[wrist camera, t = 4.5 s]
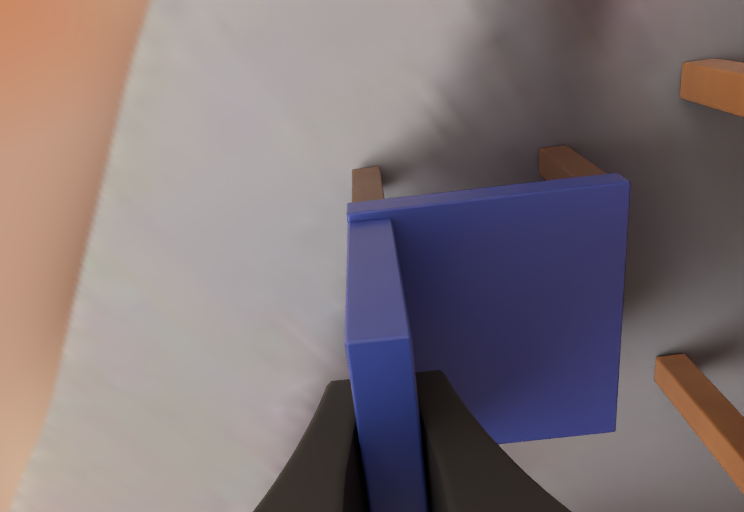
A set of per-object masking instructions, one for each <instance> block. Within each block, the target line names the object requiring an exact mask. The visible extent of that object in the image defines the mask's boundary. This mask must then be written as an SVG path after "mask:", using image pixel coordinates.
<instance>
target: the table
mask: <svg viewBox="0 0 744 512" xmlns="http://www.w3.org/2000/svg"><path fill="white" fill-rule="evenodd" d="M680 98H682V99H685V100H688V101H692V102H695V103H698V104H701V105H705V106H708V107H711V108H715V109H718V110H721V111H724V112H728V113H731V114H734V115H738V116H741V117H744V63H741V62H735V61H729V60H723V59H717V58H715V59H707V60H698V61H689V62H685V63H683V65H682V76H681V87H680ZM654 380H655V382H656V383H657V384H658V386H659V387H660V388H661V390H662V391H663V392H664V393H665V395H666V396H667V397H668V398H669V400H670V401H671V402H672V404H673V405H674V406H675V407H676V409H677V410H678V411H679V412H680V414H681V415H682V416H683V418H684V419H685V420H686V421H687V423H688V424H689V425H690V426H691V428H692V429H693V430H694V432H695V433H696V434H697V435H698V437H699V438H700V439H701V440H702V442H703V443H704V444H705V446H706V447H707V448H708V449H709V451H710V452H711V453H712V454H713V456H714V457H715V458H716V460H717V461H718V462H719V463H720V465H721V466H722V467H723V468H724V470H725V471H726V472H727V473H728V475H729V476H730V477H731V479H732V480H733V481H734V482H735V484H736V485H737V486H738V487H739V489H740V490H741V491H742V493H743V494H744V417H743V416H742V415H741V414H740V413H739V412H738V411H737V409H736V408H735V407H734V406H733V405H732V404H731V403H730V402H729V401H728V400H727V399H726V398H725V397H724V395H723V394H722V393H721V392H720V391H719V390H718V389H717V388H716V387H715V386H714V385H713V384H712V383H711V382H710V380H709V379H708V378H707V377H706V376H705V375H704V374H703V373H702V372H701V371H700V370H699V369H698V368H697V366H696V365H695V364H694V363H693V362H692V361H691V360H690V359H689V358H688V357H687V356H686V355H685V354H677V355H668V356H659V357H656V365H655V377H654Z"/></svg>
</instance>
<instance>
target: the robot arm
mask: <svg viewBox="0 0 744 512" xmlns="http://www.w3.org/2000/svg"><path fill="white" fill-rule="evenodd" d="M415 374H416V384H417V395H418V405H419V415H420V426H421V436H422V447H423V457H424V467H425V478H426V488H427V499H428V509H429V512H571V511H570V510H569V509H567V508H566V507H565V506H564V505H562V504H561V503H560V502H559V501H557V500H556V499H555V498H554V497H553V496H551V495H550V494H549V493H548V492H547V491H545V490H544V489H543V488H542V487H541V486H540V485H539V484H537V483H536V482H535V481H534V480H533V479H532V478H531V477H530V476H529V475H527V474H526V473H525V472H524V471H523V470H522V469H521V468H520V467H519V466H518V465H517V464H516V463H515V462H514V461H513V460H512V459H511V458H510V457H509V456H508V455H507V454H506V453H505V452H504V451H503V450H502V448H501V447H500V446H499V445H498V444H497V443H496V442H495V441H494V440H493V439H492V437H491V436H490V435H489V434H488V433H487V432H486V430H485V429H484V428H483V427H482V426H481V424H480V423H479V422H478V421H477V420H476V418H475V417H474V416H473V415H472V413H471V412H470V411H469V409H468V408H467V407H466V405H465V404H464V403H463V401H462V400H461V399H460V397H459V396H458V394H457V393H456V391H455V390H454V388H453V387H452V385H451V383H450V382H449V380H448V378H447V376H446V374H445V373H443V372H442V371H441V370H433V371H423V372H415ZM253 512H370V511H369V505H368V498H367V491H366V484H365V478H364V471H363V464H362V457H361V450H360V444H359V437H358V430H357V423H356V417H355V410H354V403H353V396H352V389H351V383H350V379H348V380H338V381H331V382H330V383H329V384H328V385H327V386H326V389H325V392H324V394H323V397H322V399H321V402H320V404H319V406H318V408H317V410H316V412H315V414H314V416H313V418H312V420H311V422H310V424H309V426H308V428H307V430H306V432H305V433H304V435H303V437H302V439H301V441H300V442H299V444H298V446H297V448H296V450H295V451H294V453H293V455H292V456H291V458H290V459H289V461H288V462H287V464H286V466H285V467H284V469H283V470H282V472H281V473H280V475H279V476H278V478H277V479H276V481H275V483H274V484H273V485H272V487H271V488H270V490H269V491H268V492H267V494H266V495H265V497H264V498H263V499H262V501H261V502H260V503H259V505H258V506H257V507H256V508H255V510H254V511H253Z"/></svg>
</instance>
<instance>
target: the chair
mask: <svg viewBox="0 0 744 512" xmlns="http://www.w3.org/2000/svg"><path fill="white" fill-rule="evenodd" d="M539 174H540V175H541V176H542V177H543V178H544V179H545V180H546V181H539V182H530V183H521V184H512V185H504V186H495V187H486V188H477V189H468V190H459V191H451V192H442V193H433V194H424V195H415V196H406V197H398V198H389V199H384V193H383V186H382V180H381V173H380V168H379V167H378V166H377V167H369V168H360V169H353V170H352V203H348V204H347V221H348V240H347V278H346V316H345V349H346V356H347V362H348V369H349V376H350V383H351V389H352V396H353V403H354V410H355V417H356V423H357V430H358V437H359V444H360V450H361V457H362V464H363V471H364V478H365V484H366V491H367V498H368V505H369V511H370V512H429V509H428V499H427V488H426V478H425V467H424V457H423V447H422V436H421V426H420V415H419V405H418V395H417V384H416V374H415V372H423V371H433V370H441V371H442V372H443V373H445V374H446V376H447V378H448V380H449V382H450V383H451V385H452V387H453V388H454V390H455V391H456V393H457V394H458V396H459V397H460V399H461V400H462V401H463V403H464V404H465V405H466V407H467V408H468V409H469V411H470V412H471V413H472V415H473V416H474V417H475V418H476V420H477V421H478V422H479V423H480V424H481V426H482V427H483V428H484V429H485V430H486V432H487V433H488V434H489V435H490V436H491V437H492V439H493V440H494V441H495V442H496V443H497V444H503V443H513V442H522V441H532V440H541V439H551V438H560V437H570V436H579V435H589V434H598V433H607V432H615V429H616V413H617V397H618V380H619V364H620V348H621V332H622V315H623V299H624V283H625V267H626V250H627V234H628V218H629V201H630V185H631V183H630V181H628V180H627V179H625V178H624V177H622V176H621V175H619V174H618V173H610V174H607V173H605V172H604V171H602V170H601V169H600V168H598V167H597V166H595V165H594V164H592V163H591V162H589V161H588V160H587V159H585V158H584V157H582V156H581V155H579V154H578V153H576V152H575V151H574V150H572V149H571V148H569V147H568V146H566V145H561V146H553V147H544V148H540V149H539Z"/></svg>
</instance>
